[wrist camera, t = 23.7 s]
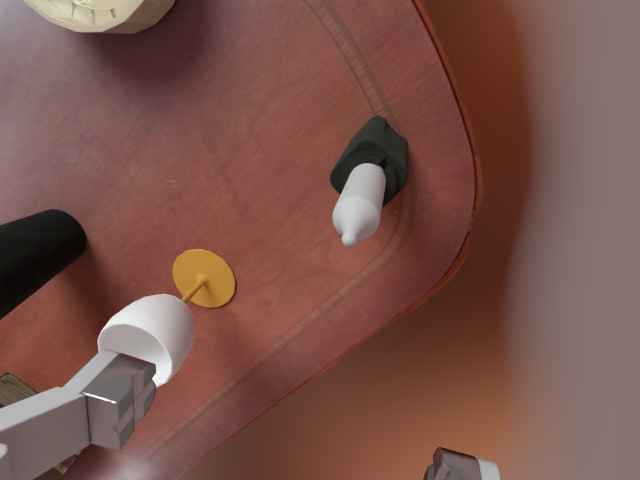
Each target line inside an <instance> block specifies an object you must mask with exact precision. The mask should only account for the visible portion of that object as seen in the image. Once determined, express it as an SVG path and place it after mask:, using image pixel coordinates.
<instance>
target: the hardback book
mask: <svg viewBox="0 0 640 480" xmlns="http://www.w3.org/2000/svg"><path fill="white" fill-rule="evenodd" d="M37 394H38V393H36V392H35V391H33V390H32V389H31V388H29V387H28V386H26V385H25V384H23V383H22V382H21V381H19V380H18V379H16V378H15V377H14V376H12V375H11V374H9V373H7V374H5V375H3V376H1V377H0V409H1V408H3V407H6V406H8V405H11V404H13V403H16V402H19V401H21V400H24V399H26V398H29V397H32V396H34V395H37ZM82 451H83V449H82V450H80V451H79V452H77V453H75V454H74V455H72V456H70V457H69V458H67V459H66V460H64V461H62V462H61V463H59V464H57V465H56V466H54V467H52V468H51V469H49V470H47V471H46V472H44V473H42V474H41V475H39V476H38V477H36V478H34V479H33V480H59V479H60V478H61V477H62V475H63V474H64V473H65V472H66V470H67V469H68V468H69V467H70V465H71V464H72V463H73V462H74V461H75V459H76V458H77V457H78V456H79V454H80V453H81V452H82Z"/></svg>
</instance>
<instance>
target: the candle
mask: <svg viewBox="0 0 640 480" xmlns="http://www.w3.org/2000/svg"><path fill="white" fill-rule="evenodd" d="M386 121H387V120H386V119H385V118H383V117H379V116H377V117H374V118H372V119H371V120H369V121H368V123H367V124H366V125H365V126H364V127H363V128H362V129H361V130H360V131H359V132H358V133H357V134H356V135H355V137H354V138H353V139H352V140H351V141H350V143H349V145H348V146H347V148H346V149H345V151H344V153H343V154H342V156H341V157H340V159H339V161H338V162H337V164H336V166H335V167H334V169H333V170H332V172H331V175H330V182H331V185H332V186H333V188H334V189H335V190H336V191H337V192H338V193H339V194H341V195H340V197H339V200H338V202H337V204H336V206H335V209H334V211H333V218H332V219H333V224H334V227H335V229H336V230H337V232H338V233H339V234H340V235H341V236H342V242H343V244H344V245H345V246H347V247H352V246H354V245H355V244H356V243H357V241H360V240H364V239H367V238H369V237H370V236H372V235H373V234H374V232H375V231H376V230H377V228H378V226H379V222H380V216H381V210H382V208H383V207H384V206H385V205H386V204H387V203H388V202H389V201H390V200H391V199H392V198H394V197H395V196H396V195H397V194H398V193H399V192H400V191H401V190H402V189H403V188H404V187H405V186H406V183H407V179H408V144H407V141H406V139H405V138H404V137H401V136H400V135H399V134H398V133H397V132H396V131H395V130H394V129H392V128H391V127H390V126H389V125H388V124H387V123H386Z"/></svg>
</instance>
